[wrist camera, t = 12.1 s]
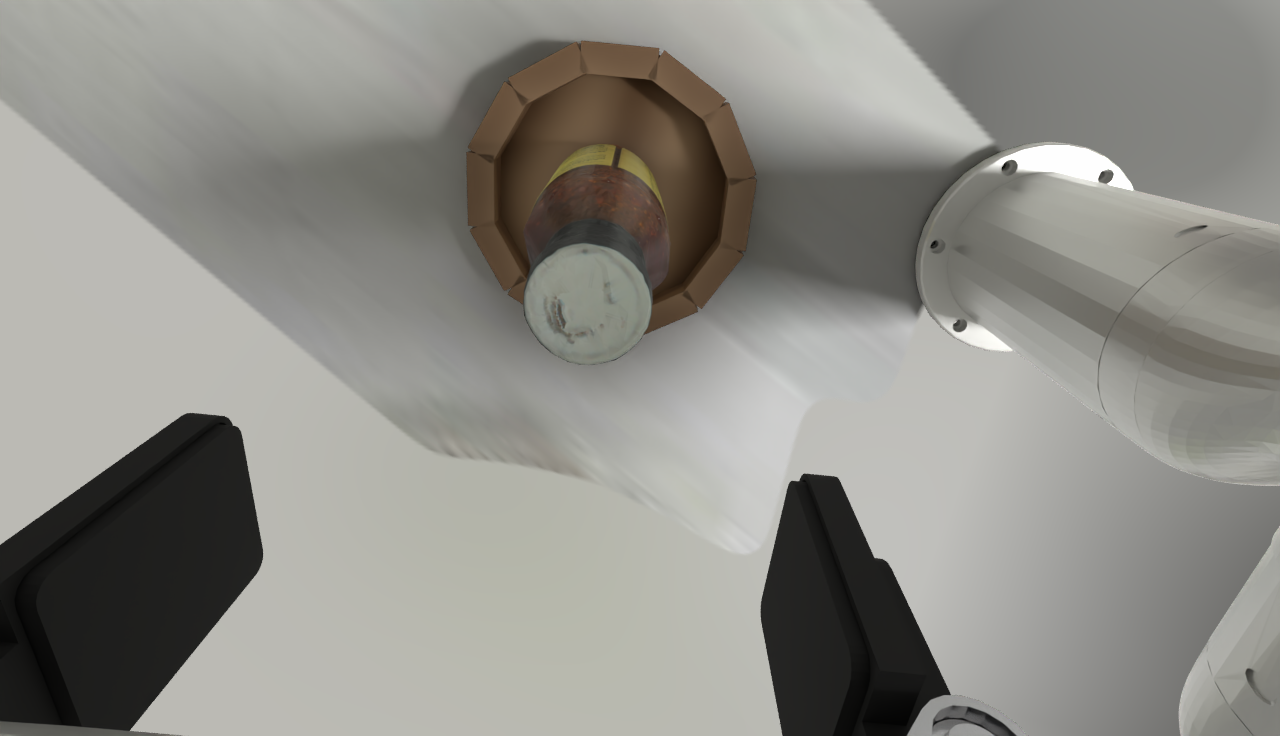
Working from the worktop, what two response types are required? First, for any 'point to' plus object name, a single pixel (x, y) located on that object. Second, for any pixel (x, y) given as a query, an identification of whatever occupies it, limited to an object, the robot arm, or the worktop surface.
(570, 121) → the walnut bowl
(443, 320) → the worktop surface
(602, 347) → the sauce bottle
